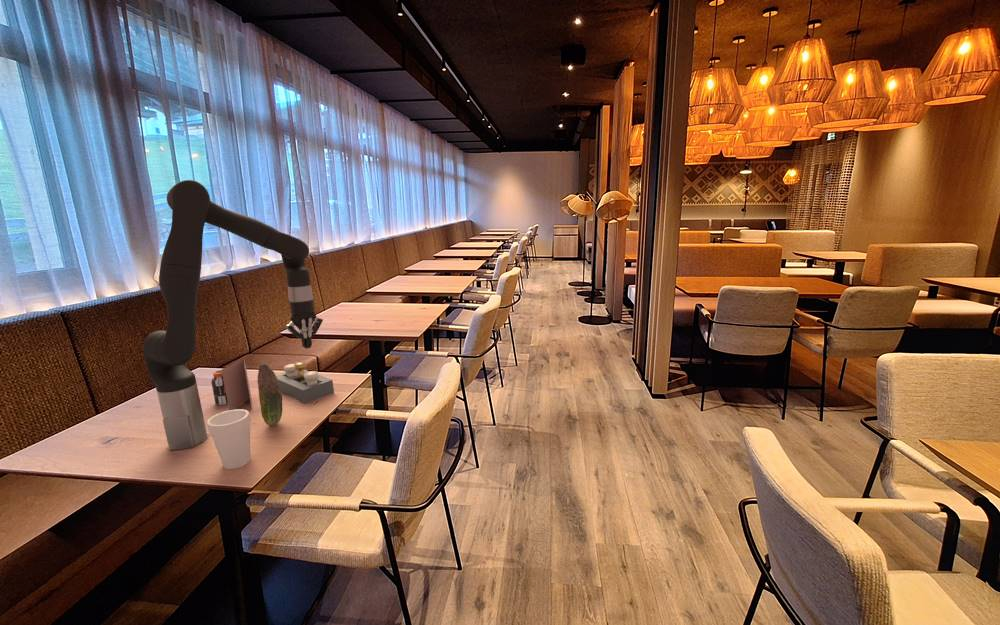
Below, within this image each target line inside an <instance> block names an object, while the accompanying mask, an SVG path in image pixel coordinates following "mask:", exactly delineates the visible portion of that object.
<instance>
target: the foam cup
mask: <svg viewBox="0 0 1000 625" xmlns="http://www.w3.org/2000/svg"><path fill="white" fill-rule="evenodd" d="M206 424H207V430H208V433H209V434H210V435H211V438H212V440H213V442H214V446H215V448H216V451H217V454H218V456H219V458H220V461H221V462H220V463H221V464H222V467H223V468H224V469H227V470H234V469H238V468H241V467H244V466H245V465H247V464H248V463H250V462H251V461H250V460H251V457H252V456H251V454H252V453H251V416H250V412H249V411H248V410H246V409H243V408H241V409H239V408H238V409H237V408H235V409H234V410H229V409H228V410H225V411H221V412H219V413H217V414H214V415H213V416H210V418H208V420H207V421H206Z"/></svg>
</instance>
